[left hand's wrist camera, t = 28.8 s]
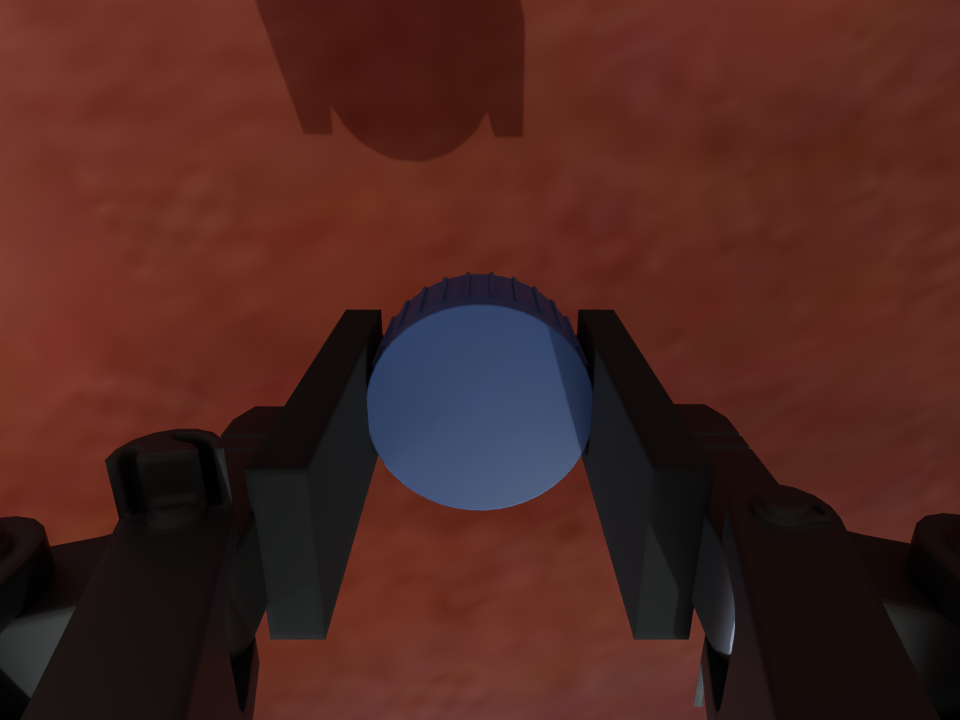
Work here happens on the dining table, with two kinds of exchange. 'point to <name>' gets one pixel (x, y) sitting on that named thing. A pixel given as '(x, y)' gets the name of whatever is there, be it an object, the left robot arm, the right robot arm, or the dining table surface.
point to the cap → (479, 393)
